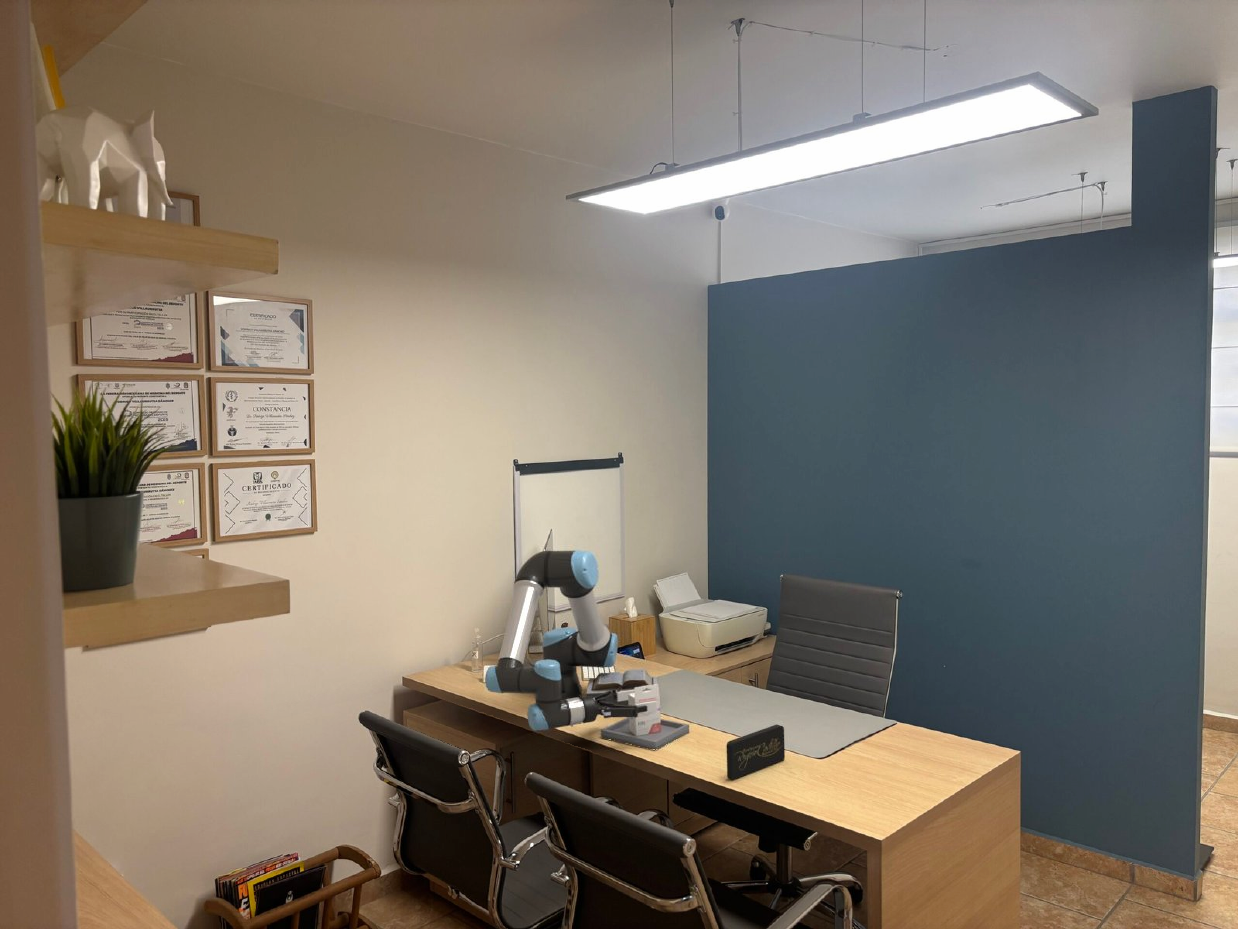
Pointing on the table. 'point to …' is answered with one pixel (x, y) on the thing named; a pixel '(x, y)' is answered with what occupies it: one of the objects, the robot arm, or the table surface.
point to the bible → (620, 682)
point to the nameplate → (755, 752)
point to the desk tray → (650, 741)
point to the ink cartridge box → (647, 720)
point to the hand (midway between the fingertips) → (646, 699)
